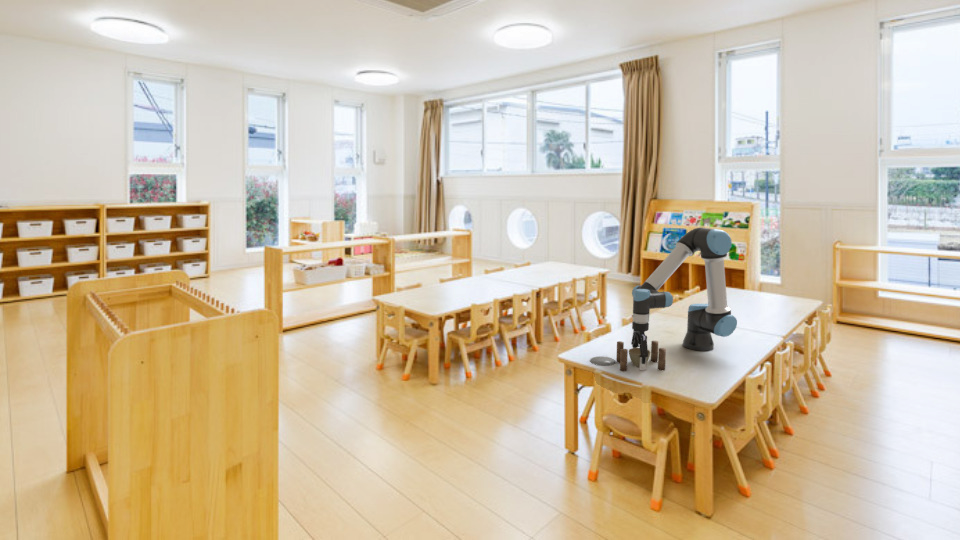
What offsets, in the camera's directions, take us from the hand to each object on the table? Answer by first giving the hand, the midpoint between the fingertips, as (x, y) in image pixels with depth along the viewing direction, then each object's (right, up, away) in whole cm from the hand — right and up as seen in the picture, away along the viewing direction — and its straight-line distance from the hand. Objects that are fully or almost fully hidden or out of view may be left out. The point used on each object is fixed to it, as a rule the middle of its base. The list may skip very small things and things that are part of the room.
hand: (638, 365), depth 251 cm
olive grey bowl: (0, 0, 0) cm, 0 cm away
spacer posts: (0, 0, 0) cm, 0 cm away
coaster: (-16, +1, +6) cm, 17 cm away
